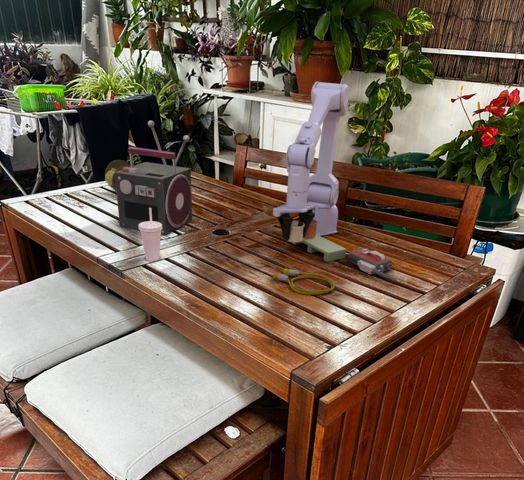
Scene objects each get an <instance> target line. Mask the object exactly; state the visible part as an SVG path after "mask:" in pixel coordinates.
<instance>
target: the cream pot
mask: <svg viewBox="0 0 524 480" xmlns="http://www.w3.org/2000/svg"><path fill="white" fill-rule="evenodd" d="M304 227H305V224H304V223H302V222H299V220H293V222H292V225H291V229H290V237H289V240H286V242H290V243H292V242H301V241H302V240H303V229H304Z"/></svg>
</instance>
